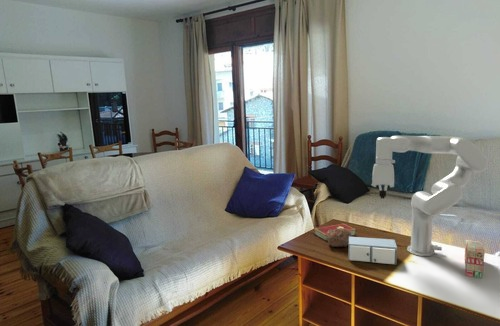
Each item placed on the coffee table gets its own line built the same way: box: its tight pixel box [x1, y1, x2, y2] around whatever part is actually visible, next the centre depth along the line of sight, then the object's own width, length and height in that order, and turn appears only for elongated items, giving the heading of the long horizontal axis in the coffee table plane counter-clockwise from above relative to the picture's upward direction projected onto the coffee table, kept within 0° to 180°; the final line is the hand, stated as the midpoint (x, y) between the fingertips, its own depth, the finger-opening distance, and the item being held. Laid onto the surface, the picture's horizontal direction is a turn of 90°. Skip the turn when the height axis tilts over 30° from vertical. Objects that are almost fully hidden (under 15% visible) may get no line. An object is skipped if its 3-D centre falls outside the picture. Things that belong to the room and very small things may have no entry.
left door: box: [371, 247, 398, 266], centre depth 166 cm, size 11×2×8 cm, turn 75°
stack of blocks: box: [464, 239, 486, 279], centre depth 161 cm, size 21×6×12 cm, turn 150°
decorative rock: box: [327, 228, 353, 248], centre depth 190 cm, size 13×11×10 cm
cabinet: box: [348, 236, 398, 265], centre depth 172 cm, size 22×12×8 cm, turn 75°
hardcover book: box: [313, 223, 356, 241], centre depth 206 cm, size 12×21×4 cm, turn 112°
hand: (382, 197), depth 176 cm, fingers closed
